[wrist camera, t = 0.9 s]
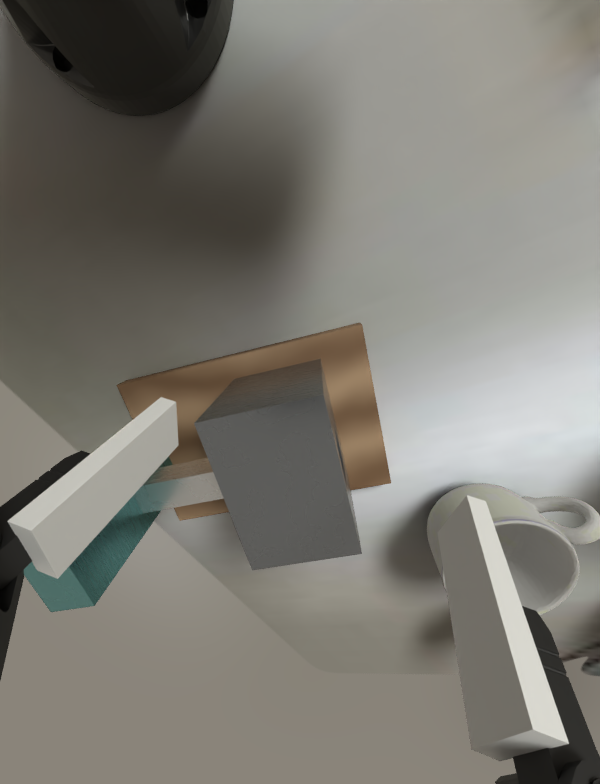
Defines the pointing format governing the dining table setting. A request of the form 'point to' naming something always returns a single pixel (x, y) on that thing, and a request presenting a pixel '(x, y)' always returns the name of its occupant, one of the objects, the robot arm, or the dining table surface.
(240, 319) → the dining table surface
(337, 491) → the grey rectangular block
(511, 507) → the teacup
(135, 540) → the teal rectangular block
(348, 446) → the base board
